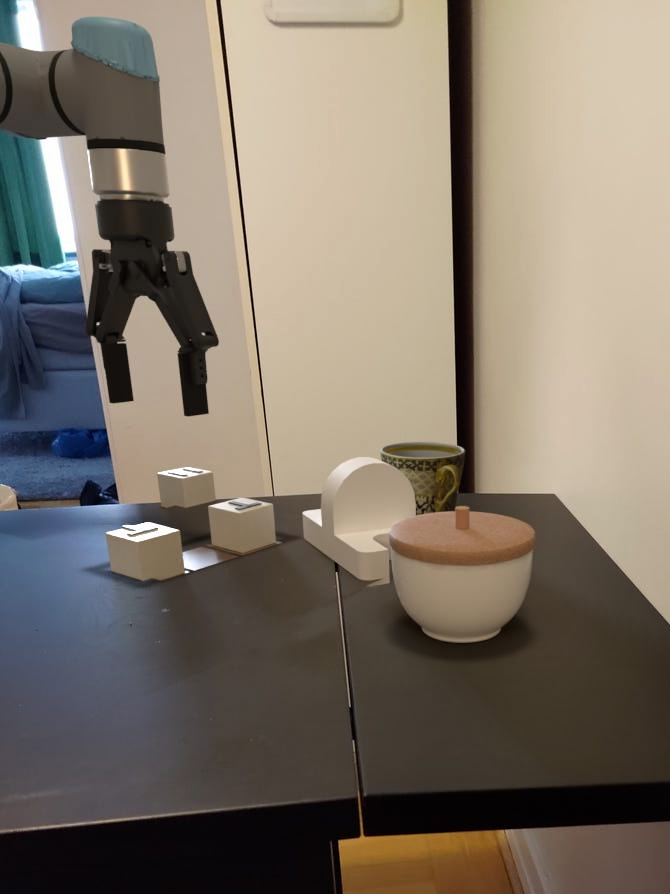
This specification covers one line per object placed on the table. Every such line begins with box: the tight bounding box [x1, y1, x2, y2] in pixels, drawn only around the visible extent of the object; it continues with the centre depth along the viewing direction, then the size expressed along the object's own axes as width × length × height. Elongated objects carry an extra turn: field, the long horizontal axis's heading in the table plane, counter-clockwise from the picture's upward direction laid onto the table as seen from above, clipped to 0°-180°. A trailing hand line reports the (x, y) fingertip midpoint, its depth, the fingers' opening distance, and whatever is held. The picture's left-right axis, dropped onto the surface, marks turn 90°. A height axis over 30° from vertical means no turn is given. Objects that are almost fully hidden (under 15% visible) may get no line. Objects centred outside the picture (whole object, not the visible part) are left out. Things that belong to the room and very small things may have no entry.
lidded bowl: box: [389, 505, 536, 644], centre depth 77 cm, size 13×13×11 cm
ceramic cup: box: [379, 441, 466, 516], centre depth 104 cm, size 13×10×10 cm
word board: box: [161, 540, 283, 582], centre depth 94 cm, size 8×20×1 cm, turn 146°
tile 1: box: [105, 521, 186, 582], centre depth 88 cm, size 5×5×5 cm
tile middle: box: [156, 466, 217, 509], centre depth 116 cm, size 5×5×5 cm
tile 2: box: [207, 497, 277, 553], centre depth 98 cm, size 5×5×5 cm
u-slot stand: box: [301, 456, 416, 587], centre depth 96 cm, size 10×18×11 cm, turn 30°
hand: (157, 408), depth 100 cm, fingers open, 13 cm apart
